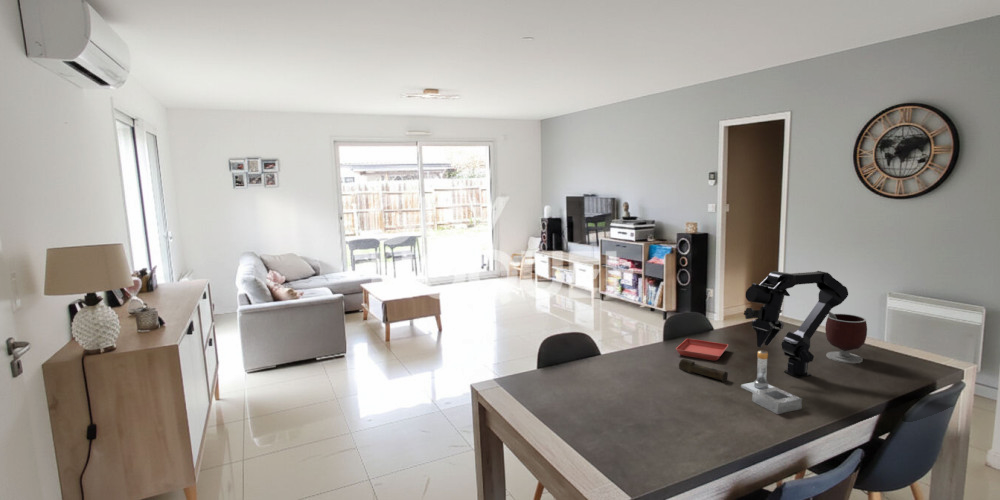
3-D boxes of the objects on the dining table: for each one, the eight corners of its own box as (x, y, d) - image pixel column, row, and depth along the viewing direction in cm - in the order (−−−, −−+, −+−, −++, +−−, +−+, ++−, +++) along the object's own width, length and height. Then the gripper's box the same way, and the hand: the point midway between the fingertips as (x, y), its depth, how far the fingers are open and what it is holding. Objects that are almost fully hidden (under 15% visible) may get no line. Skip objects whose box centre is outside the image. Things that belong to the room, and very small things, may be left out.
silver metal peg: (763, 384, 177) (765, 349, 175) (770, 389, 172) (772, 353, 171) (751, 384, 177) (753, 350, 175) (758, 390, 172) (760, 354, 170)
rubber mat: (760, 383, 180) (760, 380, 180) (781, 392, 172) (781, 390, 172) (741, 387, 177) (741, 384, 177) (761, 397, 169) (761, 394, 169)
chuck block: (775, 396, 169) (775, 386, 168) (801, 408, 159) (801, 398, 159) (752, 401, 166) (752, 391, 165) (777, 414, 156) (777, 403, 156)
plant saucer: (686, 344, 226) (686, 337, 226) (728, 351, 216) (729, 344, 215) (674, 356, 212) (675, 348, 211) (719, 364, 201) (720, 356, 201)
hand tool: (728, 380, 184) (729, 369, 183) (723, 383, 182) (723, 371, 181) (682, 367, 199) (683, 356, 198) (677, 369, 196) (677, 358, 196)
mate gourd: (863, 355, 204) (866, 308, 202) (866, 366, 193) (869, 316, 190) (819, 349, 213) (821, 304, 210) (819, 360, 201) (822, 312, 199)
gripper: (757, 299, 194) (747, 337, 195) (741, 299, 180) (731, 340, 182) (788, 307, 186) (778, 347, 188) (774, 308, 173) (764, 350, 174)
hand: (762, 346), depth 183 cm, fingers open, 9 cm apart
